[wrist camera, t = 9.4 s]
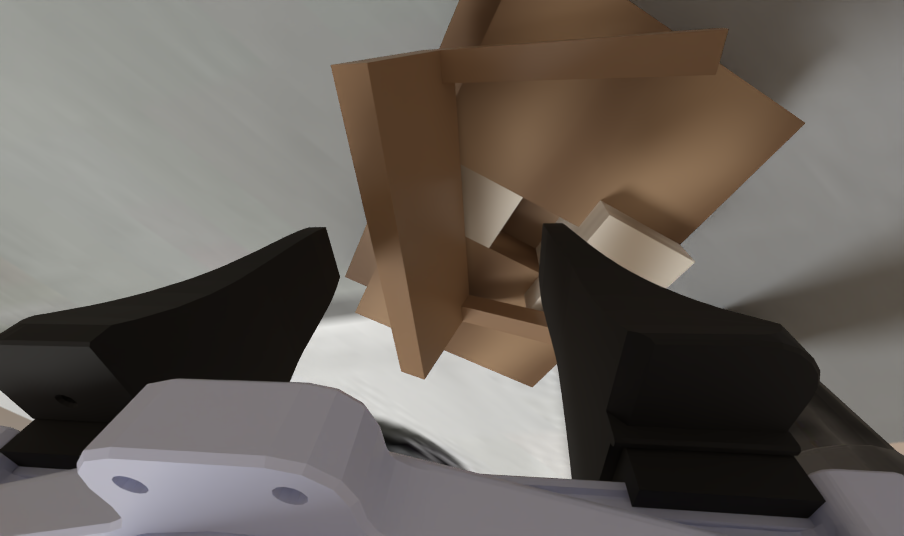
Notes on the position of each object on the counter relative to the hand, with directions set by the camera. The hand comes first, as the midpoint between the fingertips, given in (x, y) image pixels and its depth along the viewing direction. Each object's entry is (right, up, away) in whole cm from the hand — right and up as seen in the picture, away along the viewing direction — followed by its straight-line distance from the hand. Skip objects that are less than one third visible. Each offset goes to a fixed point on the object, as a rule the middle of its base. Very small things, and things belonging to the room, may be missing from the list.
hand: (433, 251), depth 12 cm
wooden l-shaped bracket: (+4, +2, +3) cm, 5 cm away
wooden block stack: (+4, +3, +8) cm, 10 cm away
